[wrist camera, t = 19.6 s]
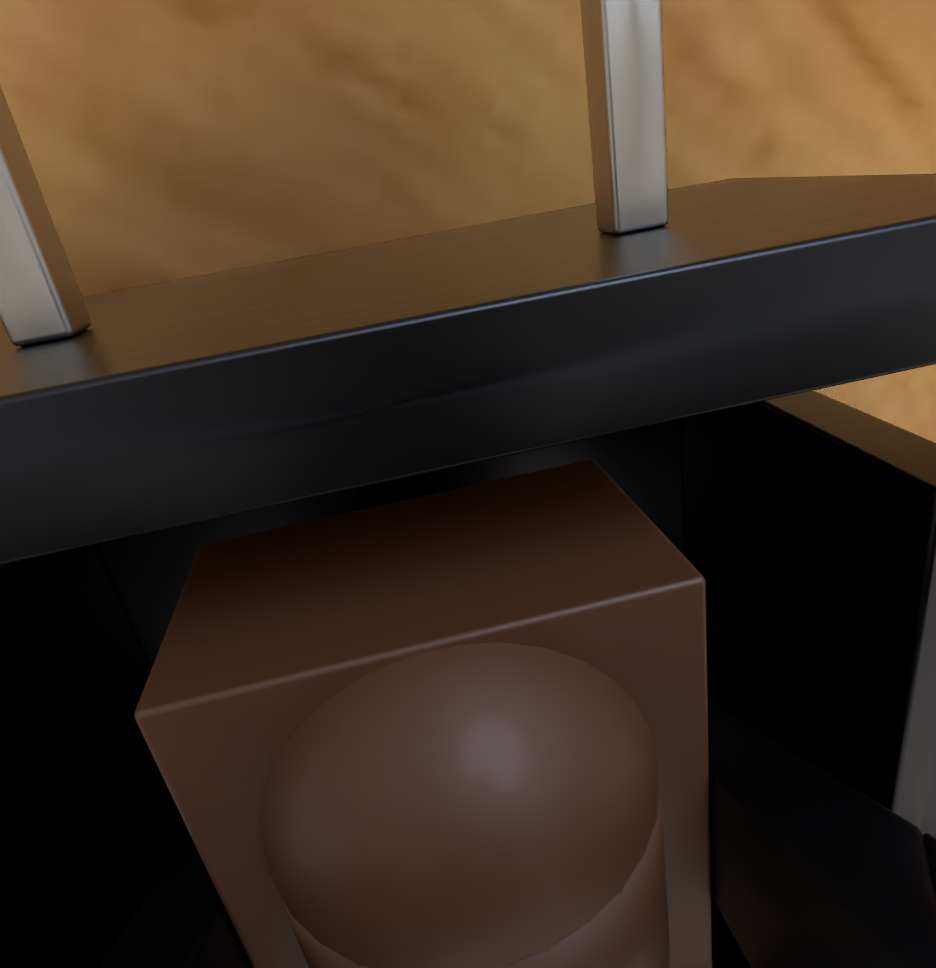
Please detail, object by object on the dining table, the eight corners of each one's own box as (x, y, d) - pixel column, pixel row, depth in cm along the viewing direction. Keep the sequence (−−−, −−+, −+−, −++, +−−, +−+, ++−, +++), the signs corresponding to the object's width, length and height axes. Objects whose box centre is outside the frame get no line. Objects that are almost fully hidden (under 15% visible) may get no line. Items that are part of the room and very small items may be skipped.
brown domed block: (198, 542, 8) (61, 885, 4) (593, 456, 9) (814, 691, 5) (328, 892, 11) (322, 1306, 7) (625, 812, 11) (783, 1157, 7)
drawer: (-315, -158, 8) (-2575, -1353, 2) (734, -284, 9) (1560, -1268, 3) (191, 874, 16) (93, 1330, 9) (730, 734, 17) (960, 1055, 11)
